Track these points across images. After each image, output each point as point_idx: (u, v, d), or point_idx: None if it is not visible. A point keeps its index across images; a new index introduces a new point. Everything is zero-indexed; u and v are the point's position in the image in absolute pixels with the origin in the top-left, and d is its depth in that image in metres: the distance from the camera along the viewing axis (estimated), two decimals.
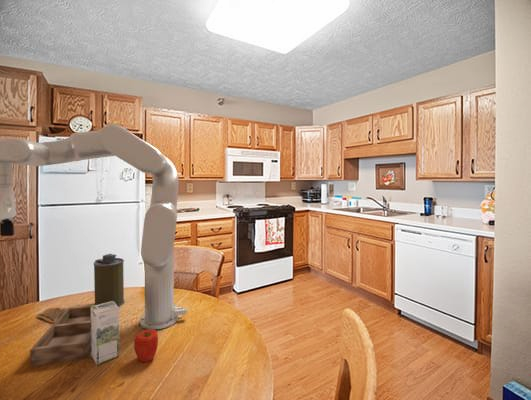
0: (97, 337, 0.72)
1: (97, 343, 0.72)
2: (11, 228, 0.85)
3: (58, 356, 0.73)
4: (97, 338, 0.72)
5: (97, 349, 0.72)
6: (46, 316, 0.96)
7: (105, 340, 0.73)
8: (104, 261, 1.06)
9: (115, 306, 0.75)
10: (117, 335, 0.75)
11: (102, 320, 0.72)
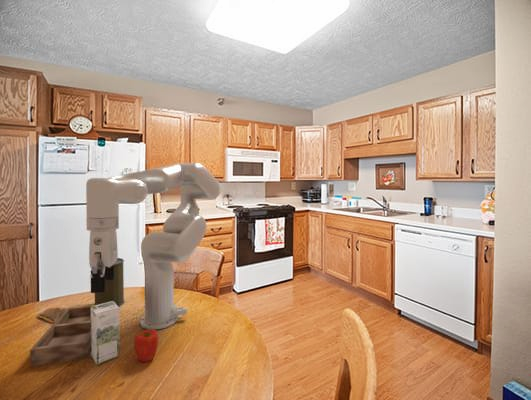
0: (97, 337, 0.72)
1: (97, 343, 0.72)
2: (112, 271, 0.79)
3: (58, 356, 0.73)
4: (97, 338, 0.72)
5: (97, 349, 0.72)
6: (46, 316, 0.96)
7: (105, 340, 0.73)
8: None
9: (115, 306, 0.75)
10: (117, 335, 0.75)
11: (102, 320, 0.72)
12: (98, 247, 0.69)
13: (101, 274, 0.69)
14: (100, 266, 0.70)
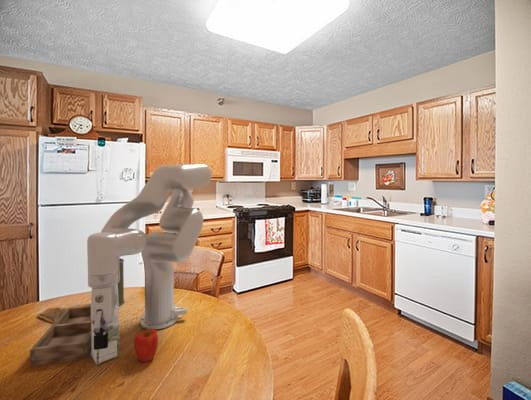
0: None
1: None
2: None
3: (58, 356, 0.73)
4: None
5: None
6: (46, 316, 0.96)
7: None
8: None
9: (115, 306, 0.75)
10: (117, 335, 0.75)
11: (102, 320, 0.72)
12: (100, 304, 0.70)
13: (104, 332, 0.71)
14: (102, 323, 0.72)
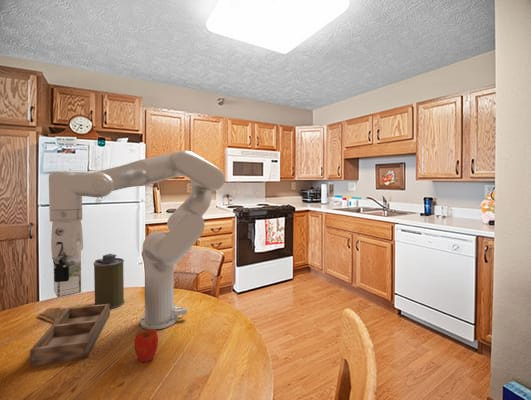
0: None
1: None
2: None
3: (58, 356, 0.73)
4: None
5: (58, 282, 0.74)
6: (47, 316, 0.96)
7: None
8: (104, 261, 1.06)
9: (77, 243, 0.78)
10: (79, 271, 0.78)
11: (63, 254, 0.75)
12: (60, 237, 0.73)
13: (64, 264, 0.73)
14: (63, 256, 0.74)
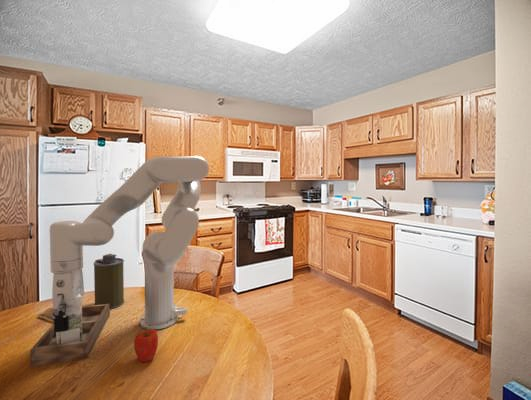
0: None
1: None
2: None
3: (58, 356, 0.73)
4: None
5: (59, 336, 0.75)
6: (47, 316, 0.96)
7: None
8: (104, 261, 1.06)
9: (78, 295, 0.78)
10: (80, 323, 0.78)
11: None
12: (61, 289, 0.74)
13: (64, 314, 0.73)
14: (63, 306, 0.74)
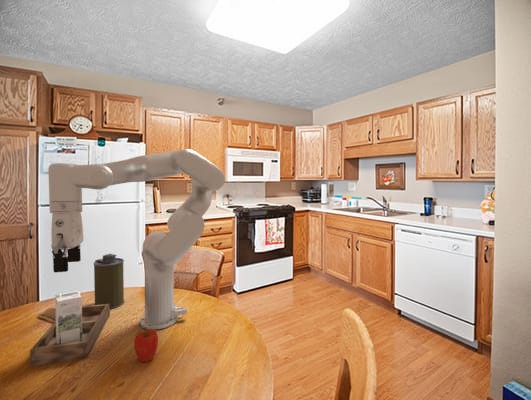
0: (59, 324, 0.75)
1: (59, 330, 0.75)
2: (78, 254, 0.83)
3: (58, 356, 0.73)
4: (59, 325, 0.75)
5: (59, 336, 0.75)
6: (47, 316, 0.96)
7: (67, 327, 0.76)
8: (104, 261, 1.06)
9: (78, 295, 0.78)
10: (80, 323, 0.78)
11: (64, 308, 0.76)
12: (60, 229, 0.73)
13: (63, 254, 0.73)
14: (62, 247, 0.74)
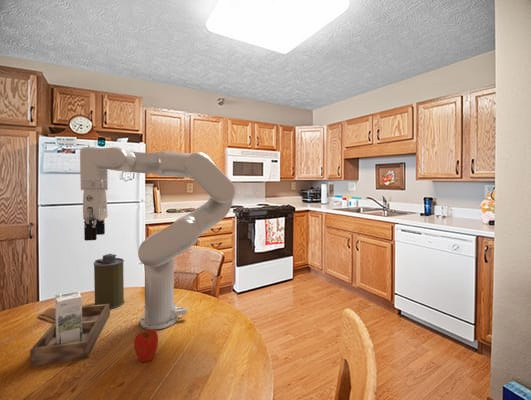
0: (59, 324, 0.75)
1: (59, 330, 0.75)
2: (103, 228, 0.95)
3: (58, 356, 0.73)
4: (59, 325, 0.75)
5: (59, 336, 0.75)
6: (47, 316, 0.96)
7: (67, 327, 0.76)
8: (104, 261, 1.06)
9: (78, 295, 0.78)
10: (80, 323, 0.78)
11: (64, 308, 0.76)
12: (90, 203, 0.85)
13: (93, 225, 0.85)
14: (92, 219, 0.86)
